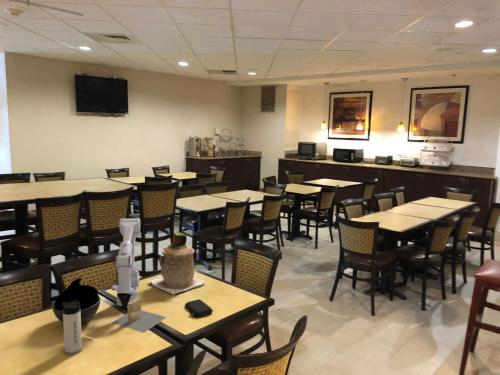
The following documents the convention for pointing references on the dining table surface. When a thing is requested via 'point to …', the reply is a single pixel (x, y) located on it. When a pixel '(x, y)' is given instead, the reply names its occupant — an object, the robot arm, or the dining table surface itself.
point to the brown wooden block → (134, 310)
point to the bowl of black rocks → (78, 300)
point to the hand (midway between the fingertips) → (125, 307)
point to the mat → (140, 321)
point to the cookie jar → (177, 267)
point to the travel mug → (72, 327)
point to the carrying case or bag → (198, 308)
